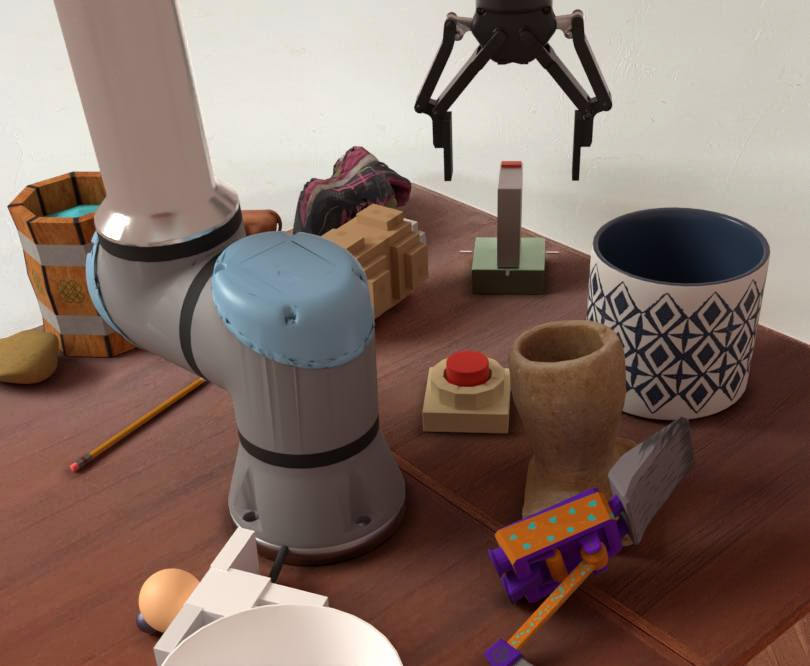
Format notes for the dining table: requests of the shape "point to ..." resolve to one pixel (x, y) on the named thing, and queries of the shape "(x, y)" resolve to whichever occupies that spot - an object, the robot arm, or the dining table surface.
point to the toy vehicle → (585, 532)
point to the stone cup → (569, 408)
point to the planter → (680, 306)
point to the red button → (467, 369)
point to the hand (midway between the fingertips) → (511, 176)
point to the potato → (28, 356)
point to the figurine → (210, 594)
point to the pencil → (134, 425)
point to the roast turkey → (385, 253)
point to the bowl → (286, 640)
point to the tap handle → (509, 213)
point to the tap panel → (508, 268)
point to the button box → (467, 402)
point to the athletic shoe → (349, 192)
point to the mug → (65, 260)
